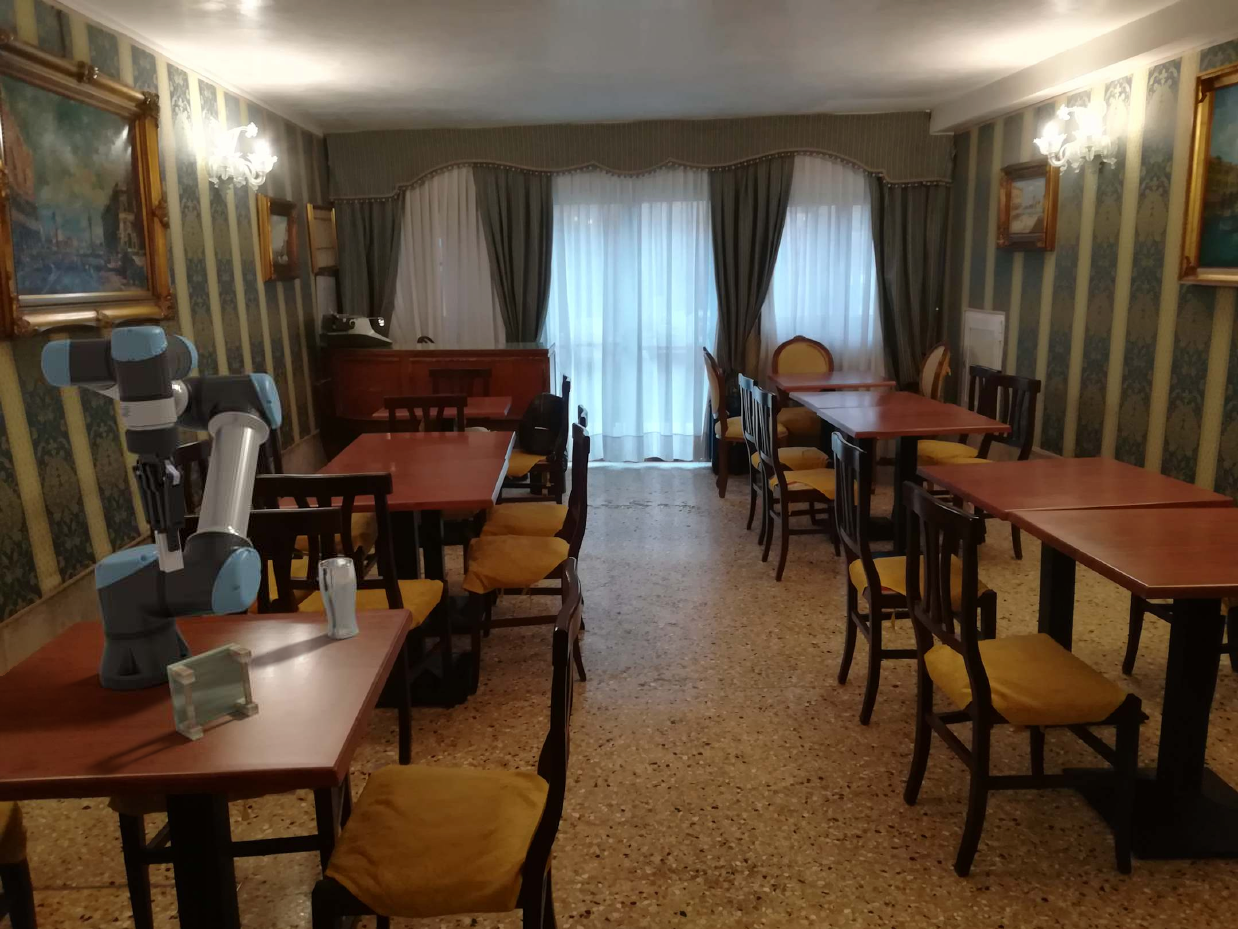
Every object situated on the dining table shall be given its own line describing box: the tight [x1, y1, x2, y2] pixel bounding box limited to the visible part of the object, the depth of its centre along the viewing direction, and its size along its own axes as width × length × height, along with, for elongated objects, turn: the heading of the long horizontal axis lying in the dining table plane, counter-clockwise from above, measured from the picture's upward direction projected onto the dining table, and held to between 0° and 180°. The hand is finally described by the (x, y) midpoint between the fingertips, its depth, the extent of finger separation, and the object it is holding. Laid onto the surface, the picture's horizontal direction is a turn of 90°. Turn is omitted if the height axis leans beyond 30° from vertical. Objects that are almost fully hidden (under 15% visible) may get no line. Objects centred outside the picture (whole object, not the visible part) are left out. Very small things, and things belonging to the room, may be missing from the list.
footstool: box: [167, 642, 260, 741], centre depth 143 cm, size 6×11×11 cm, turn 142°
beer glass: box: [318, 557, 360, 640], centre depth 177 cm, size 7×7×15 cm
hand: (171, 568), depth 144 cm, fingers closed
